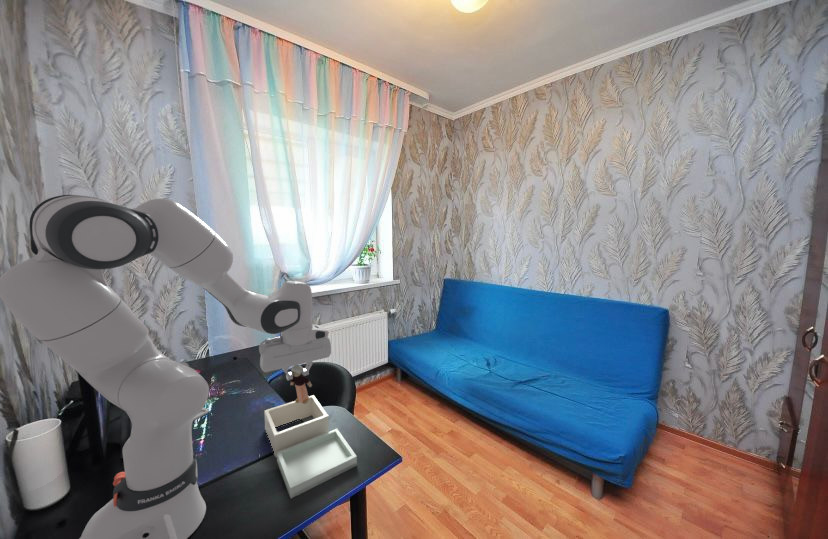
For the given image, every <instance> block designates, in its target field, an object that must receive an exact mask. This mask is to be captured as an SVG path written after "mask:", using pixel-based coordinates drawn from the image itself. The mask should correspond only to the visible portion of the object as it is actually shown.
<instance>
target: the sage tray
mask: <svg viewBox="0 0 828 539" xmlns="http://www.w3.org/2000/svg"><path fill="white" fill-rule="evenodd" d="M357 457H358V456H357V454H356V453H355V452H354V450H353V449H352V447H351V445H349V443H348V441H346V439H345V438H344V436H343V435H342V433H341V432H340V431H339V429H338V428H335V429H332V430H330V431H329V432H327V433H324V434H322V435H319V436H317V437H314V438H312V439H309V440H307V441H304V442H302V443H299V444H297V445H294V446H292V447H289V448H287V449H284V450H282V451H279V452H277V457H276V464H277V465H278V466H277V467H278V469H279V472H280V474H281V476H282V479H283V482H284V484H285V487H286V490H287V493H288V496H289V497H290V499H293V498H295V497H297V496H299V495H302V494H303V493H305V492H307V491H309V490H311V489H313V488H315V487H317V486H319V485H321V484H323V483H325V482H327V481H329V480H331V479H333V478H334V477H336V476H339V475H341V474H343V473H345V472H348V471H349V470H350V469H351V470H352V469H353V468H355V467H357V466H358V465H357V464H358V458H357Z"/></svg>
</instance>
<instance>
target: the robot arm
mask: <svg viewBox="0 0 828 539" xmlns="http://www.w3.org/2000/svg"><path fill="white" fill-rule="evenodd" d="M28 226H29V235H30V250H31V252H32V254H34V255H33V256H32V257H31V258H29V259H26V260H24V261H22V262H20V263H17V264H15V265H14V266H11V267H10V268H9V269H8V270H6V271H5V272H4V273H3V274H2V275H0V298H1V301H2V302H3V303H4V305H5V306H6V307H7V309H9V311H10V312H11V314H12V315H13V316H14V317H15V318H16V319H17V321H19V323H20V324H21V325H22V326H24V328H25V329H27V330H28V331H29V333H31V334H32V335H33V337H34V336H35V338H36V339H37V340H39V341H40V342H41V343H42V344H44V345H45V346H46V347H47V348H49V349H50V350H51V351H52V352H53V353H54V354H56V355H57V356H58V357H59V358H60V359H61V360H62V361H64V362H66V364H68V365H69V366H70V367H71V368H72V369H73V370H75V371H76V372H77V373H78V374H79V375H80V376H81V377H82V378H83V379H84V380H85V381H86V382H87V383H88V384H89V385H90V386H91V387H92V388H94V389H95V391H97V393H99V394H101V396H102V397H103V398H105V399H106V400H107V402H110V403H111V404H113V405H114V406H116V407H118V408H119V409H121V410H122V411H125V413H126V414H127V416H128V417H129V419H130V423H131V430H130V431H131V432H130V436H129V437H128V439H127V440H126V441H125V442H124V445H123V447H122V459H123V468H124V471H120V472H118V473H116V474H115V476H114V477H113V482H112V485H113V486H114V488H113V491H112V499H110V500H109V501H108V502H107V503H106V504H105V505H103V507H101V508H100V509H99V510H98V511H96V512H95V513H94V514H92V516H91V518H90V519H89V521H88V522H87V524H86V525H85V528H84V529H83V531H82V533H81V536H80V537H79V539H188V538H189V537H190V536H192V534H194V532H195V531H196V530H197V529H198V528H199V526H200V524H201V523H202V522H203V519H204V518H205V515H206V512H207V505H206V502H205V500H204V498H203V496H202V495H201V492H200V490H199V486H198V475H199V474H198V463H197V459H196V454H195V452H194V451H193V435H192V430H193V429H192V428H193V422H194V421H193V418H194V417H195V416H196V415H197V414H198V413H199V412H200V411H201V409H202V408H205V405H206V402H207V401H208V399H209V393H210V387H209V384H208V381H206V380H205V378H204V377H203V376H202V375H201V374H200V373H199V372H197V370H196V369H194V368H192V367H190V366H189V367H188V366H185V365H183V364H180V363H181V362H177V361H175V360H174V359H171V358H170V357H168V356H167V355H164V354H163V353H162V352H161V351H160V350H159V349H158V348H157V347H156V346H155V345H154V344H155V343H154V342H153V341H152V339H151V337H150V335H149V334H150V333H149V328H148V327H147V326H146V325H145V324H144V323H143V322H142V320H141V319H140V318H139V317H138V316H137V315H136V314H135V312H134V311H133V310H132V309H131V308H130V307H129V306H128V305H127V303H125V301H124V300H123V299H122V298H121V297H120V296H119V295H118V294H117V292H116V291H115V290H114V289H112V287H111V286H110V285H109V283H108V282H107V280H106V278H105V276H104V270H110V269H116V268H119V267H122V266H124V265H128V264H129V263H132V262H133V261H136V259H139V258H142V257H144V256H147V255H150V256H152V257H154V259H155V258H156V259H157V260H158V261H160V262H161V263H162V264H163V265H165V267H167V268H169V269H170V271H173V272H174V273H176V274H177V275H179V276H180V277H182V278H184V279H185V280H187V281H189V282H191V283H192V284H195V285H197V286H199V287H201V288H203V289H204V290H205V291H206V292H207V293H208V294H209V295H211V296H212V297H213V298H214V299H216V300H217V301H218V302H219V303H220V304H221V305H223V307H224V309H225V310H226V312H227V315H228V317H229V318H230V320H231V321H232V322H233V323H234V324H235V325H236V326H240V327H244V328H250V329H251V330H255V331H258V332H261V333H262V332H263V333H266V334H269V335H278V334H280V336H276V337H273V338H266V339H264V340H263V341H262V342H261V343H260V344H259V345H258V352H259V354H260V359H259V367H260V369H261V370H262V371H263V372H264V373H269V372H272V371H277V370H281V369H282V371H283V373H285V377H286V380H287V381H291V379H293V376H294V375H293V371H289V370H290V367H293V366H294V365H301V364H306V365H305V367H303V371H302V373H301V375H303V376H304V377H307V376H309V375H310V369H311V367H312V366H313V362H314V361H318V360H323V359H326V358H329V357H330V356H331V354H332V346H331V340H330V338H329V331H328V329H326V328H325V327H324V326H322V325H320V324H313V320H312V319H313V318H312V313H313V304H314V303H313V293H312V288H311V285H309V284H308V283H307V282H303V281H297V280H285V281H283V282H282V284H281V286H280V287H279V288H278V289H277V290H276V291H274V292H273V293H272V294H270V295H265V294H262V293H259V292H255V291H253V290H247V289H245V288H243V286H242V285H241V284H240V283H238V281H236V280H235V278H233V277H232V276H231V275H230V274H229V273H228V272H229V271H230V270H231V268H232V267H233V266H232V265H233V262H234V253H233V251H232V250H231V248H230V247H229V245H228V244H227V243H226V241H225V240H224V239H223V238H222V237H221V236H220V235H219V234H218V233H217V232H216V231H215V230H213V229H212V228H211V227H210V226H209V225H208V224H207V223H205V221H203V220H202V219H201V218H199V217H198V216H197V215H195V214H194V213H193V212H191V211H190V210H188V209H187V207H185V206H183V205H181V204H180V203H178V202H177V201H175V200H173V199H169V198H154V199H150V200H147V201H144V202H143V203H141V204H140V205H138V206H137V207H134V208H128V207H125V206H123V205H120V204H117V203H116V204H115V203H111V202H109V201H107V200H104V199H101V198H97V197H94V196H87V195H78V194H64V195H63V194H62V195H57V196H53V197H49V198H47V199H45V200H43V201H42V202H41V203H39V204H38V205H36V207H35V208H34V210H33V211H32V212H31V215H30V217H29V225H28Z"/></svg>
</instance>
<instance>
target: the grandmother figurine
mask: <svg viewBox="0 0 828 539" xmlns="http://www.w3.org/2000/svg"><path fill="white" fill-rule="evenodd" d="M303 369H304V367H303V366H302V365H301V364H298V365H294V366H291V368H290V370H291V372H292V374H293V379H291V380H290V386H295V390H296V397H297V398H296V399H295V400H294V401H295V402H296V403H299V402H300V403H303V404H306V403H308V401H309V400H310V398H309V395H308V394H309V393H308V389H307V386H308V387H309V388H312V386H313V384H312V383H311V380H310V379H309V378H307V376H303V374H302V372H303ZM306 384H307V386H306Z"/></svg>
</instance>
